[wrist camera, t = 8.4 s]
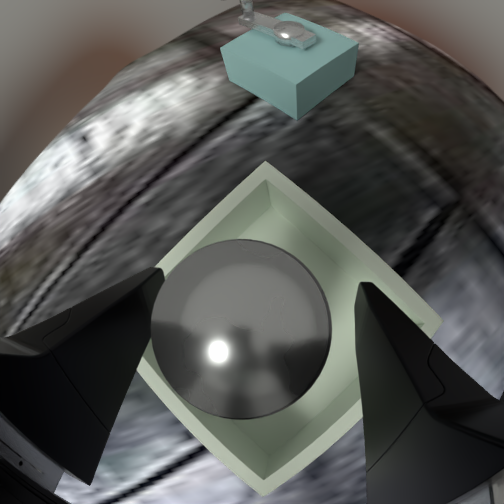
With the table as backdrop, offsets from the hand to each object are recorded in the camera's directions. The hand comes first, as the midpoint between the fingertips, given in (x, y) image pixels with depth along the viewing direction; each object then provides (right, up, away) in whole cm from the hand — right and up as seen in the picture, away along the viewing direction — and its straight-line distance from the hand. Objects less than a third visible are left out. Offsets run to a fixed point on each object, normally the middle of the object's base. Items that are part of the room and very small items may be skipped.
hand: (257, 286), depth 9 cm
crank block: (+3, +17, +14) cm, 22 cm away
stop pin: (+1, -4, +7) cm, 8 cm away
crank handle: (+2, +19, +10) cm, 21 cm away
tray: (+1, -4, +8) cm, 9 cm away
